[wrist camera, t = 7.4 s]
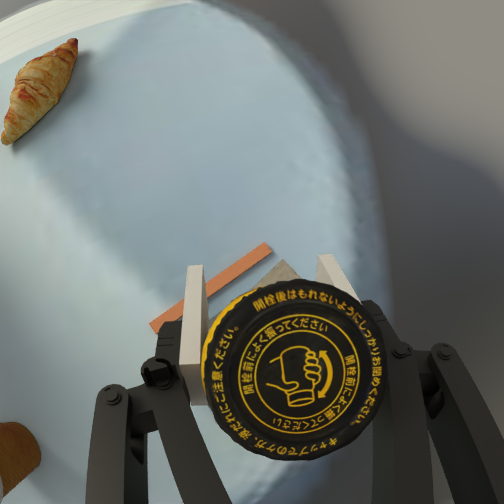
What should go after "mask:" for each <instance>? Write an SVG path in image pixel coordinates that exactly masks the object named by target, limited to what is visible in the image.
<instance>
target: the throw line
mask: <svg viewBox="0 0 504 504" xmlns="http://www.w3.org/2000/svg"><path fill="white" fill-rule="evenodd" d="M271 252H272V251H271V250H270V249H269V247H268V246H267V245H266V243H265V242H264V243H263V244H261V245H260V246H258V247H257V248H256V249H254V250H253V251H251V252H250V253H248V254H247V255H246V256H244V257H243V258H241V259H240V260H238V261H237V262H236V263H234V264H233V265H231V266H230V267H229V268H227V269H226V270H224V271H223V272H221V273H220V274H219V275H217V276H216V277H214V278H213V279H211V280H210V281H209V282H207V283H206V284H205V286H206V293H207V298H208V297H210V296H211V295H213V294H214V293H215V292H217V291H218V290H220V289H221V288H222V287H224V286H225V285H227V284H228V283H229V282H231V281H232V280H234V279H235V278H237V277H238V276H239V275H241V274H242V273H244V272H245V271H246V270H248V269H249V268H251V267H252V266H253V265H255V264H256V263H258V262H259V261H260V260H262V259H263V258H265V257H266V256H267V255H269V254H270V253H271ZM184 299H185V298H184ZM184 299H183V300H182V301H180V302H179V303H177V304H176V305H175V306H173V307H172V308H170V309H169V310H167V311H166V312H165V313H163V314H162V315H160V316H159V317H158V318H156V319H155V320H153V321H152V322H150V323H149V324H150V326H151V327H152V329H153V330H154V332H155V333H156V334H157V333H159V329H160V328H161V326H162V325H163V323H164V322H165V321H176V320H177V319H179V318H180V317H181V316H183V309H184Z"/></svg>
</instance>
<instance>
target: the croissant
mask: <svg viewBox="0 0 504 504" xmlns="http://www.w3.org/2000/svg"><path fill="white" fill-rule="evenodd" d="M77 55H78V40H77V39H76V38H71V39H69V40H68V41H67V43H64V44H61V45H60V46H58V47H57V48H55V49H54V50H53V51H50V52H47V53H46V54H44V55H43V56H41V57H37V58H35V59H33V60H31V61H29V62H28V63H27V64H26V65H25V66H24V67H23V68H22V69H20V71H19V72H18V74H17V76H16V79H15V87H14V89H13V91H12V92H11V95H10V104H11V105H10V106H9V110H8V112H7V114H6V116H5V119H4V127H5V130H4V131H3V133H2V135H1V141H2V144H4V145H6V146H7V145H9V144H11V143H13V142H14V141H15V140H17V139H18V138H19V137H20V136H21V135H23V134H24V133H26V132H27V131H28V130H29V129H30V128H31V127H33V125H34V124H35V123H36V122H37V121H38V120H40V119H41V118H42V117H43V116H44V115H45V114H46V113H47V112H48V111H49V110H50V109H51V108H52V107H53V105H56V104H57V103H58V101H59V97H60V95H61V94H62V92H63V91H64V89H65V88H66V85H67V84H68V82H69V79H70V77H71V71H72V69H73V66H74V62H75V60H76V58H77Z"/></svg>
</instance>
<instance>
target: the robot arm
mask: <svg viewBox="0 0 504 504" xmlns="http://www.w3.org/2000/svg"><path fill="white" fill-rule="evenodd" d="M316 282H320V283H326V284H330V285H333V286H335V287H337V288H339V289H340V290H343V291H345V292H347V293H348V294H350V295H351V296H353V297H354V298H355V299H356V300H358V301H359V302H360V303H361V304H362V305H363V306H364V307H365V308H366V309H367V310H368V311H369V313H370V314H371V315H372V317H373V318H374V319H375V321H376V323H377V324H378V325H379V327H380V329H381V331H382V335H383V340H384V345H385V347H386V351H387V365H388V386H387V389H386V394H385V398H384V400H383V402H382V404H381V406H380V408H379V410H378V412H377V414H376V416H375V417H374V418H373V420H372V423H373V476H372V502H371V504H434V497H433V480H432V466H431V455H430V445H429V436H428V430H429V433H430V435H431V438H432V440H433V443H434V446H435V448H436V451H437V454H438V456H439V459H440V462H441V465H442V467H443V470H444V473H445V476H446V479H447V482H448V485H449V487H450V491H451V493H452V497H453V500H454V503H455V504H504V439H503V437H502V435H501V433H500V431H499V429H498V427H497V425H496V423H495V421H494V419H493V417H492V415H491V413H490V411H489V409H488V407H487V405H486V403H485V401H484V399H483V397H482V395H481V394H480V392H479V390H478V388H477V386H476V384H475V383H474V381H473V379H472V377H471V376H470V374H469V372H468V370H467V369H466V367H465V366H464V363H463V362H462V360H461V358H460V357H459V355H458V353H457V352H456V350H455V349H454V348H453V347H452V346H450V345H449V344H446V343H437V344H435V345H434V346H433V347H432V349H431V351H417V350H413V348H412V347H411V346H410V345H409V344H407V343H405V342H402V341H400V340H399V339H398V337H397V335H396V333H395V332H394V330H393V328H392V327H391V325H390V323H389V322H388V321H387V318H386V317H385V315H383V312H382V310H381V309H380V307H379V306H378V305H377V304H376V303H374V302H373V301H372V300H367V301H360V300H359V299H358V297H357V295H356V293H355V292H354V290H353V288H352V287H351V285H350V283H349V282H348V280H347V278H346V277H345V275H344V273H343V272H342V270H341V268H340V267H339V265H338V263H337V262H336V260H335V258H334V257H333V255H332V254H323V255H318V263H317V274H316ZM207 335H208V300H207V293H206V286H205V279H204V271H203V265H193V266H188V270H187V280H186V289H185V299H184V309H183V320H182V321H165V322H164V323H163V325H162V326H161V328H160V329H159V333H158V340H157V347H156V353H155V356H154V357H152V358H150V359H148V360H147V361H146V362H144V363H143V365H142V367H141V375H142V377H143V380H144V382H145V383H144V384H142V385H140V386H137V387H134V388H130V389H127V390H126V389H125V387H123V386H121V385H117V384H112V385H107V386H106V387H104V388H102V389H101V391H100V392H99V393H98V396H97V399H96V405H95V412H94V419H93V426H92V433H91V442H90V450H89V460H88V471H87V484H86V501H85V504H148V471H147V433H149V432H153V431H156V430H159V433H160V437H161V440H162V443H163V446H164V449H165V452H166V456H167V459H168V462H169V465H170V467H171V470H172V473H173V476H174V479H175V482H176V484H177V487H178V490H179V492H180V495H181V498H182V500H183V503H184V504H232V502H231V500H230V498H229V496H228V494H227V492H226V490H225V488H224V486H223V483H222V481H221V479H220V477H219V475H218V473H217V470H216V468H215V466H214V464H213V461H212V459H211V457H210V454H209V452H208V450H207V447H206V445H205V443H204V440H203V438H202V435H201V433H200V431H199V428H198V426H197V423H196V421H195V418H194V415H193V413H192V410H191V408H190V402H191V405H192V406H194V405H208V402H207V399H206V394H205V391H204V388H203V385H202V377H201V355H202V349H203V345H204V343H205V340H206V338H207Z"/></svg>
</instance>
